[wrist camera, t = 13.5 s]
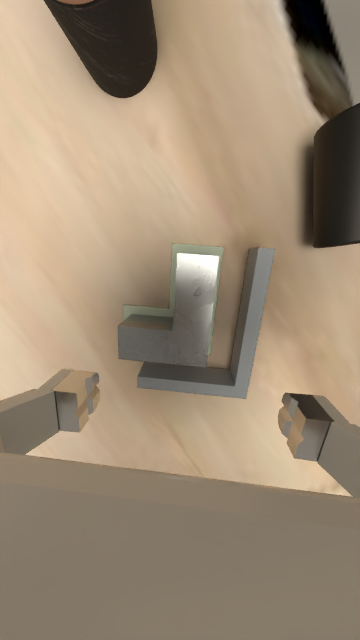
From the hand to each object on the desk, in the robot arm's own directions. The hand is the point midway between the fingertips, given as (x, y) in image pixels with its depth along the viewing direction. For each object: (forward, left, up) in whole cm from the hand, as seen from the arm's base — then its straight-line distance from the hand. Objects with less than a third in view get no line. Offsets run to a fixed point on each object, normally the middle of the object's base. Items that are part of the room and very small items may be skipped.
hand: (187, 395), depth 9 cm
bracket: (0, +3, -18) cm, 18 cm away
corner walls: (-2, -1, -19) cm, 19 cm away
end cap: (+13, -14, -19) cm, 27 cm away
